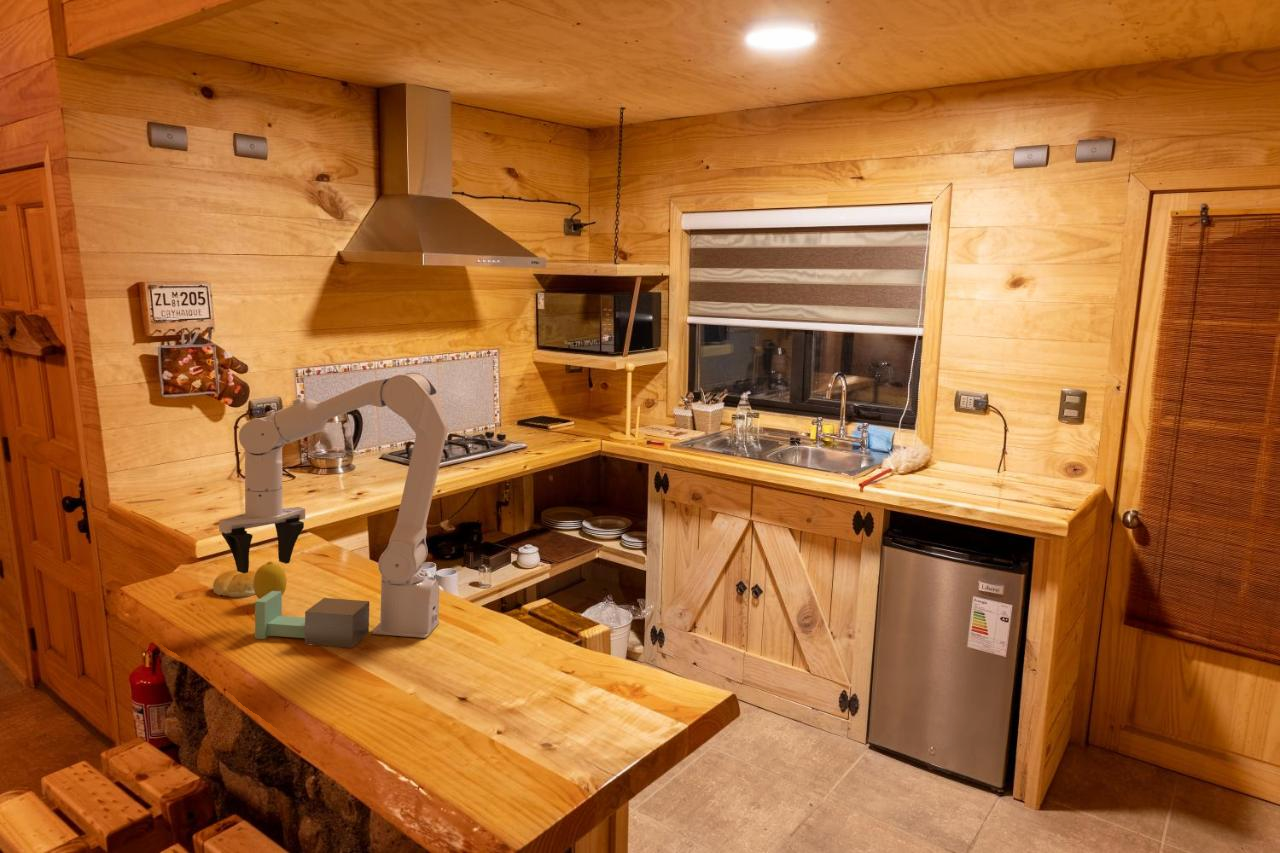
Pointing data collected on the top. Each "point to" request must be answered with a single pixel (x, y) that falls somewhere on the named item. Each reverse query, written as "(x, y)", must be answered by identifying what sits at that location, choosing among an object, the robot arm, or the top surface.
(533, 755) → the top surface
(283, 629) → the handle
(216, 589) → the bread roll
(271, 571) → the lemon
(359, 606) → the block
